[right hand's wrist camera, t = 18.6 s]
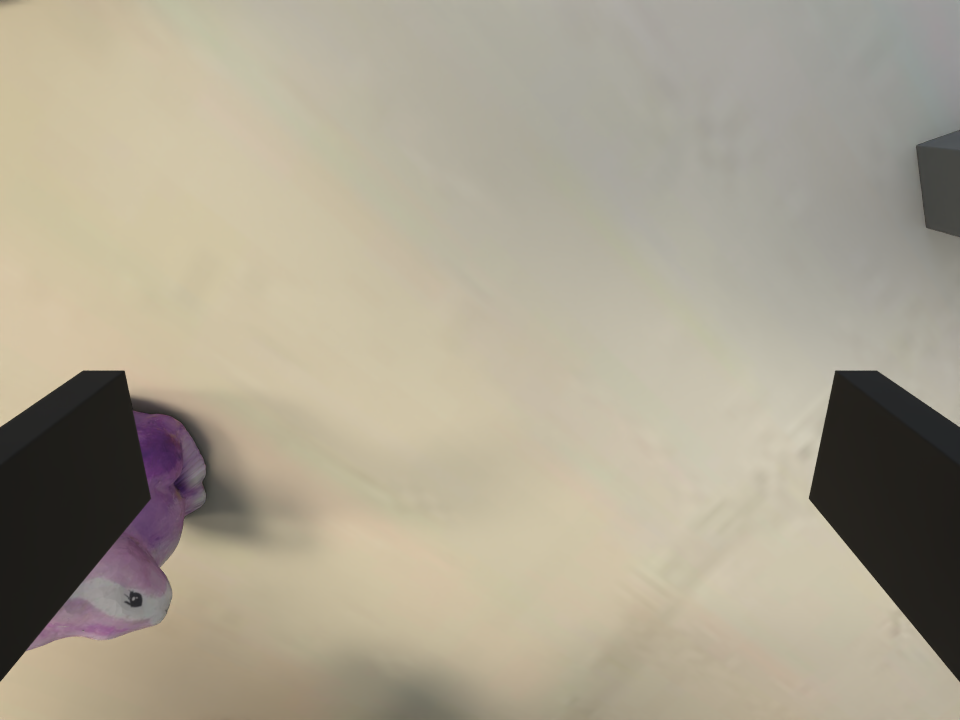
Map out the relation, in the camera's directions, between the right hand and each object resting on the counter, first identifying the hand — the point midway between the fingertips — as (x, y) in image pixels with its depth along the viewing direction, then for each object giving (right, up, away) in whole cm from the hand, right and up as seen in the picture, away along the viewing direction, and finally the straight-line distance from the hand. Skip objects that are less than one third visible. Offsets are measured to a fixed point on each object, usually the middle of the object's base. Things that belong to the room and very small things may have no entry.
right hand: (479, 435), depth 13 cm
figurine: (-22, -5, +33) cm, 40 cm away
